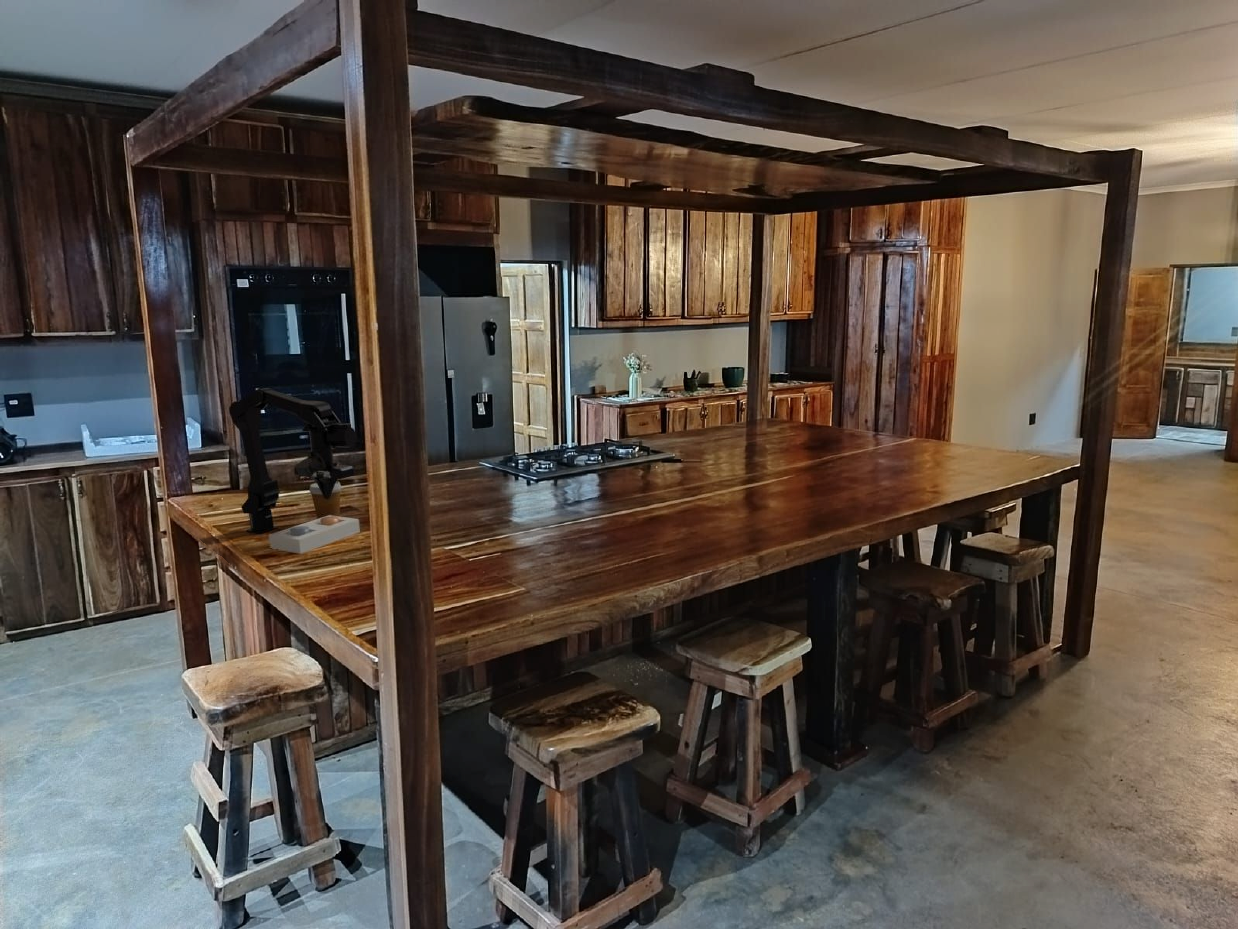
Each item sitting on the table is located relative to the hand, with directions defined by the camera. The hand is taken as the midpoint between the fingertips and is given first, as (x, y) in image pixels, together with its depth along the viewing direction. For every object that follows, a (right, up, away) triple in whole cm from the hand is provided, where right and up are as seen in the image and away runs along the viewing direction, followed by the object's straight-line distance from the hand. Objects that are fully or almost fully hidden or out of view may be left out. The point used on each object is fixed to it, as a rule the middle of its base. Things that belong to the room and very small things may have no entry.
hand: (327, 499), depth 243 cm
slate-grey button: (-5, -11, -8) cm, 14 cm away
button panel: (-2, -12, -2) cm, 12 cm away
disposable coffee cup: (-5, -8, +17) cm, 19 cm away
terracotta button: (0, -9, +2) cm, 9 cm away
